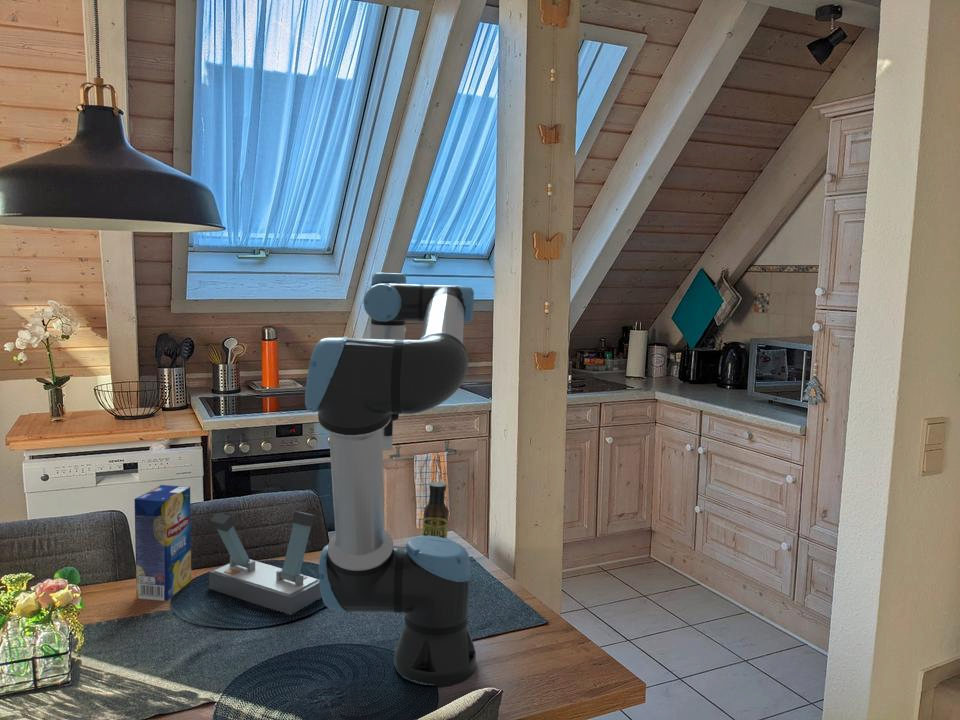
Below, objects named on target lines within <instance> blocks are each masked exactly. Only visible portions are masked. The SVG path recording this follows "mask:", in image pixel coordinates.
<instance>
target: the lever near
mask: <svg viewBox="0 0 960 720" xmlns="http://www.w3.org/2000/svg"><path fill="white" fill-rule="evenodd" d="M315 519H316V515H315V514H311V513H307V512H304V511H303V512H302V511H294V512H293V516H292V521H291V523H292V524H293V525H292V528H291V533H290V536H289V541H288V545H287V549H286V554H285V557H284V562H283V565H282V566H283V567H282V568H281V569H282V573H281V578H282V579H285V580H288V581H292V582H295V577H296V576H298V575H300V574H301V570H302V565H303V561H304V559H305V558H304V557H305V553H306V550H307V544H308V541H309V536H310V531H311V528H312V527H314V523H315Z"/></svg>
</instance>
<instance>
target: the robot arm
mask: <svg viewBox="0 0 960 720" xmlns="http://www.w3.org/2000/svg"><path fill="white" fill-rule="evenodd" d="M474 295H475V291H474V289H473V288H472V287H471V286H464V285H458V284H455V285H447V284H446V285H443V284H442V285H440V284H436V285H435V284H412V283H411V284H410V283H409V284H408V283H407V277H406V275H405V274H404V273H398V272H374V273H373V274H372V277H371V284H370V287H369V288H368V289H367V291H366V292H365V294H364V298H363V303H362V304H363V308H364V311H365V312H366V314H367V315H368V316H369V317H370V328H369V329H370V333H369V336H370V338H362V337H361V338H360V337H359V338H358V337H348V336H342V337H325V338H321V339H320V340H319V341H318V342H317V343H316V344H315V345H314V348H313V349H312V353H311V357H310V360H309V364H308V371H307V377H306V382H305V393H304V406H305V408H306V410H307V411H309V412H312V413H316V412H317V416H318V417H317V418H318V424H319V426H321V428H322V429H324V431H326V432H327V433H328V436H329V438H328V439H329V440H328V441H329V452H330V468H331V469H330V471H331V483H332V501H333V517H334V533H335V534H333V536H332V537H331V538H330V540H329V542H328V544H327V545H325V546H324V547H323V548H322V550H321V552H320V556H319V564H318V574H319V585H320V592H321V596H322V599H321V600H322V602H323V603H324V605H325V606H326V608H328V609H329V610H331V611H338V612H345V613H397V614H404V625H403V628H402V631H401V634H400V636H399V639H398V642H397V645H396V648H395V650H394V653H393V656H394V657H393V666H394V665H395V667H396V669H397V670H398V671H399V672H400V673H401V674H402V675H403V676H405V677H407V678H409V679H411V680H416V681H418V682H423V683H427V684H429V683H430V684H434V685H436V686H435V687H443V686H445V687H446V686H451V685H455V684H458V683H461V682H463V681H465V680H467V679H468V678H470V677H471V676H472V675H473V673H474V672H475V670H476V668H477V665H476V663H477V654H476V649H475V645H474V641H473V639H472V635H471V631H470V628H469V601H470V600H469V598H470V597H469V594H470V593H469V592H470V587H469V586H470V579H471V577H472V576H471V575H472V573H471V570H470V568H471V565H470V564H471V562H470V561H471V559H470V555H469V553H468V550H466V548H465V547H464V546H462V545H461V544H459V543H457V542H456V541H453V539H449V538H447V539H446V538H442V537H437V536H422V535H421V536H414V537H411V538H410V539H408V541H407V543H406V544H405V546H395V545H394V541H393V538H392V536H391V534H389V532H388V531H386V530H385V491H384V489H385V487H384V486H385V485H384V482H385V481H384V451H391V450H393V439H394V437H393V435H394V434H393V433H394V422H395V421H398V420H399V415H413V414H419V413H420V414H421V413H423V412H426V411H429V410H432V409H433V408H435V407H438V406H439V405H441V404H443V403H445V401H446V400H448V399H450V398H451V397H452V396H453V395H454V394H455V393H456V392H457V391H458V389H460V387H461V386H462V385H463V383H464V382H465V379H466V377H467V374H468V370H469V354H468V350H467V348H466V346H465V344H464V325H465V324H469V323H472V321H473V319H474V303H475V302H474V299H475V298H474V297H475V296H474ZM406 322H423V323H422V328H421V329H422V330H421V334H420V339H406V333H407V329H406Z"/></svg>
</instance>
